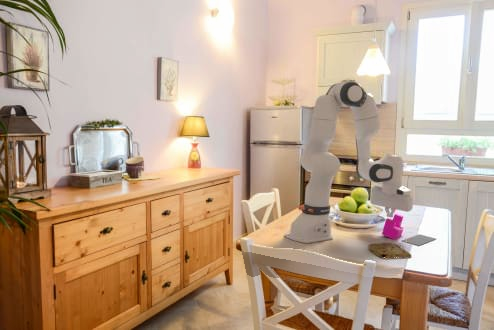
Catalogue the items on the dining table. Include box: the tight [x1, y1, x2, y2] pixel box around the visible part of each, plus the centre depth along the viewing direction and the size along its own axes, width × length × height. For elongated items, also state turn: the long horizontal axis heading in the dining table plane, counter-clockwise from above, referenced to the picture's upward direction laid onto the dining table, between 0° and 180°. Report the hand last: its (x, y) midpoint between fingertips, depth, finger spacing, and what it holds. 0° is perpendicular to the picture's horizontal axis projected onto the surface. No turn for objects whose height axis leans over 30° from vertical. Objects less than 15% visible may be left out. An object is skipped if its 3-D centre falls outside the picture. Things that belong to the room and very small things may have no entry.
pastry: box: [367, 242, 412, 259], centre depth 163 cm, size 17×17×3 cm
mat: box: [401, 234, 437, 247], centre depth 180 cm, size 16×8×1 cm, turn 130°
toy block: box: [381, 213, 404, 240], centre depth 187 cm, size 15×6×8 cm, turn 143°
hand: (389, 216), depth 191 cm, fingers closed
